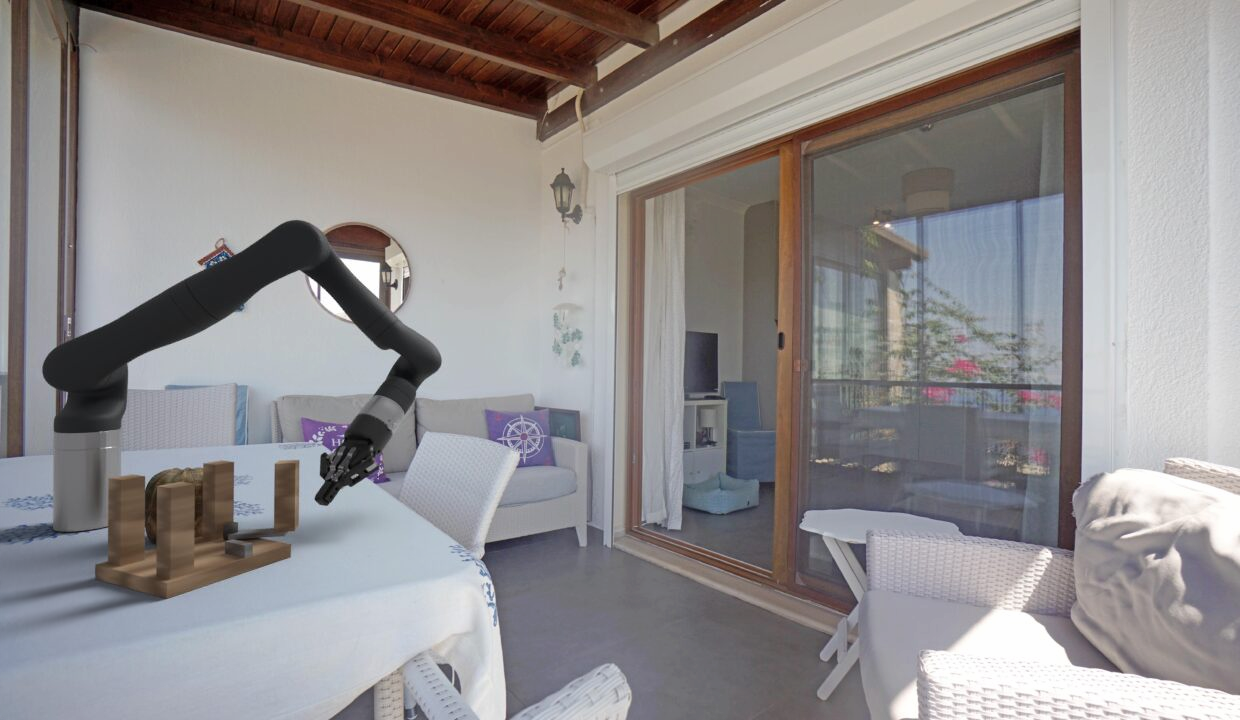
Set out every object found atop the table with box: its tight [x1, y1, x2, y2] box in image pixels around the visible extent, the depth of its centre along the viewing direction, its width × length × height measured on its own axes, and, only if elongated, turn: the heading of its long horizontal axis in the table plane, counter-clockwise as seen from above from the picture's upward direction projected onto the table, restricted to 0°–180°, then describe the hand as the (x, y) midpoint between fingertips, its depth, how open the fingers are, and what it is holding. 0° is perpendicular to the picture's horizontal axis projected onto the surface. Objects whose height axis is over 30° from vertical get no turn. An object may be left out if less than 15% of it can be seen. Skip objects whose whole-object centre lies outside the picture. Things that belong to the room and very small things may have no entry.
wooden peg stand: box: [94, 459, 292, 600], centre depth 90 cm, size 16×18×14 cm
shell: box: [145, 466, 203, 545], centre depth 104 cm, size 11×11×12 cm
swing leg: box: [223, 459, 300, 540], centre depth 98 cm, size 10×3×12 cm, turn 107°
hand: (320, 503), depth 105 cm, fingers closed
